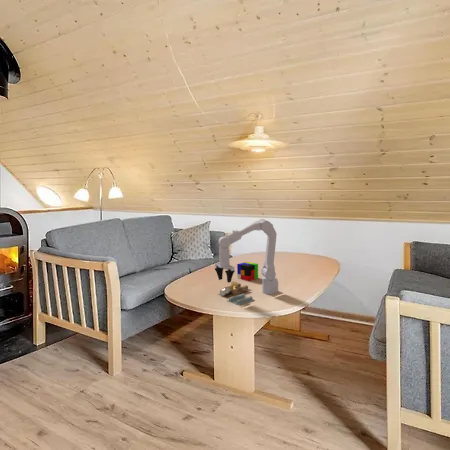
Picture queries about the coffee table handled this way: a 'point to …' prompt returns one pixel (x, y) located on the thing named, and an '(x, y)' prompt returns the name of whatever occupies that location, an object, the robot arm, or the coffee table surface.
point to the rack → (240, 299)
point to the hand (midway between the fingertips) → (224, 280)
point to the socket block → (237, 290)
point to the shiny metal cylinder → (226, 291)
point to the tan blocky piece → (234, 285)
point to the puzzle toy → (247, 271)
